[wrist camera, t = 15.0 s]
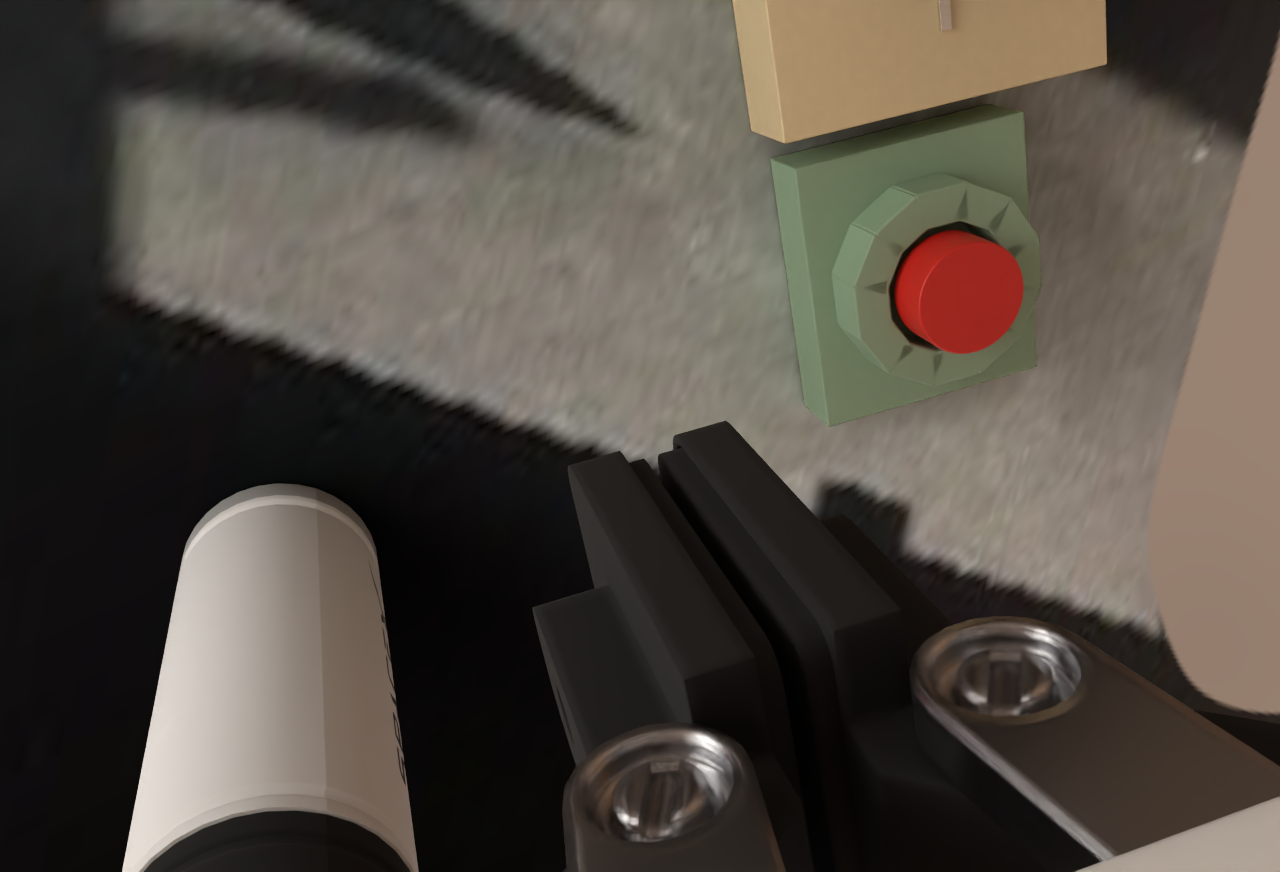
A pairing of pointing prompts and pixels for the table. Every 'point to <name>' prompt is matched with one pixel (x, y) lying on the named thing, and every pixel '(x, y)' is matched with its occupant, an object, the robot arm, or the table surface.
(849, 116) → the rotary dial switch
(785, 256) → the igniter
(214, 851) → the travel mug
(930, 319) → the button
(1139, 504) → the table surface
